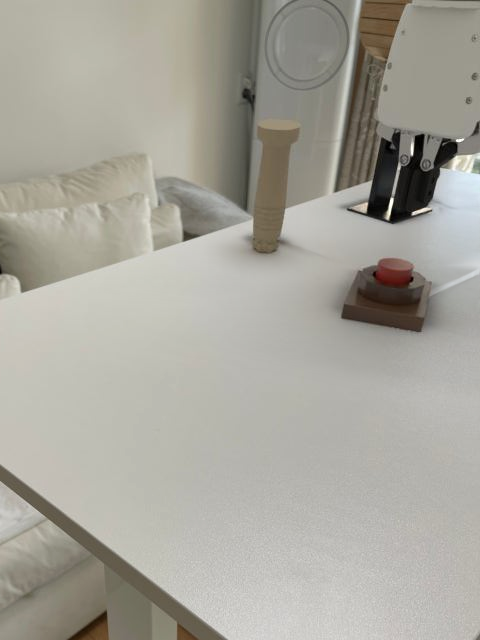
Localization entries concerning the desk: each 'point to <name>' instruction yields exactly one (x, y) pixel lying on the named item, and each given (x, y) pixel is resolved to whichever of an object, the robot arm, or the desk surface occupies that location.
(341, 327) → the desk surface
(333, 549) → the desk surface
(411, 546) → the desk surface
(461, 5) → the robot arm
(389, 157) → the bracket
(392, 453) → the desk surface
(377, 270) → the button
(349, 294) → the button block
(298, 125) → the handle
